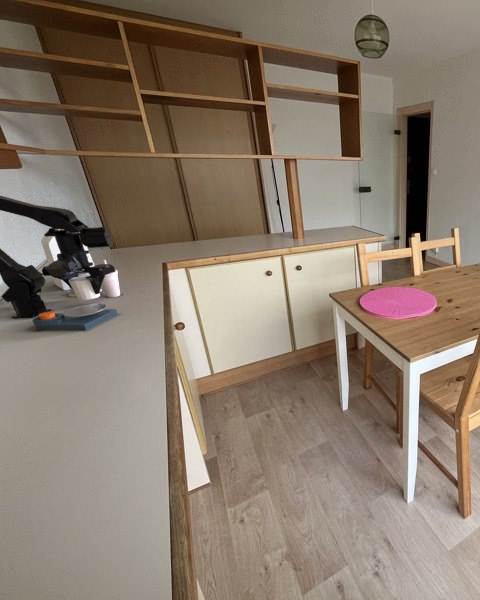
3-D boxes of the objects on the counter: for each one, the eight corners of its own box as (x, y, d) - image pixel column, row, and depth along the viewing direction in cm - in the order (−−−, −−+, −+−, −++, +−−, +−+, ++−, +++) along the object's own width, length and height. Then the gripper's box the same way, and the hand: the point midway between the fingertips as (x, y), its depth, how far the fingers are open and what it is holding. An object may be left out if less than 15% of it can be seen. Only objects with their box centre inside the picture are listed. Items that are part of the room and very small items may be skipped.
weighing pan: (53, 317, 94) (52, 316, 93) (82, 304, 103) (82, 303, 103) (88, 317, 94) (87, 316, 94) (114, 304, 103) (114, 303, 103)
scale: (30, 332, 92) (26, 321, 90) (72, 314, 104) (68, 304, 103) (83, 332, 93) (78, 321, 91) (117, 314, 105) (114, 304, 103)
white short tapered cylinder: (85, 301, 104) (78, 281, 102) (69, 299, 106) (62, 279, 103) (107, 294, 111) (101, 275, 108) (92, 293, 112) (85, 274, 109)
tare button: (37, 320, 92) (35, 315, 91) (47, 316, 95) (45, 311, 94) (48, 320, 92) (46, 315, 92) (59, 316, 95) (57, 311, 95)
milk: (101, 283, 134) (80, 221, 124) (64, 290, 125) (39, 224, 115) (91, 278, 140) (71, 218, 130) (55, 284, 131) (30, 221, 121)
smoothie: (128, 294, 122) (118, 259, 117) (110, 299, 117) (98, 263, 112) (117, 292, 124) (106, 257, 119) (98, 297, 119) (86, 261, 114)
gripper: (14, 254, 94) (34, 302, 100) (79, 255, 95) (96, 302, 101) (51, 246, 104) (67, 290, 110) (109, 247, 105) (123, 291, 111)
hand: (87, 293), depth 108 cm, fingers closed on white short tapered cylinder, 6 cm apart
